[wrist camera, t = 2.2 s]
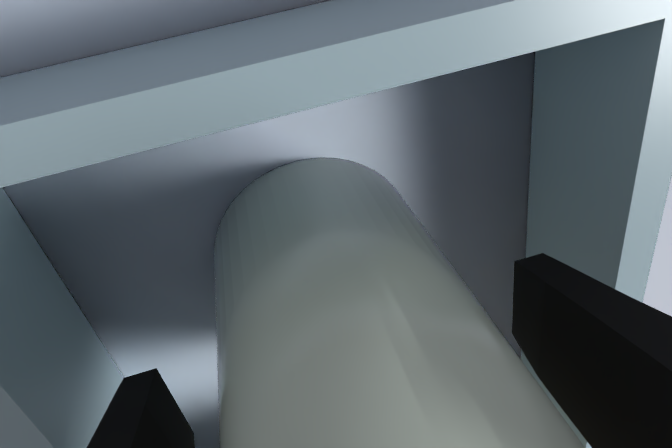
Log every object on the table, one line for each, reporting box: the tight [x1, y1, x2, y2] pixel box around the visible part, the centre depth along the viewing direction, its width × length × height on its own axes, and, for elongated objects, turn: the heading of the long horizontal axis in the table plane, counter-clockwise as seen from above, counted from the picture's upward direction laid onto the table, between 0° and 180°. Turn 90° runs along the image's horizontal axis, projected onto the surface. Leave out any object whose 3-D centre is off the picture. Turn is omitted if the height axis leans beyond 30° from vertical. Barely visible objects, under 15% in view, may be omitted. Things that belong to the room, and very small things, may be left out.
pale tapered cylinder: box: [214, 158, 585, 448], centre depth 9 cm, size 5×5×9 cm
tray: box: [0, 0, 672, 448], centre depth 13 cm, size 18×14×4 cm
